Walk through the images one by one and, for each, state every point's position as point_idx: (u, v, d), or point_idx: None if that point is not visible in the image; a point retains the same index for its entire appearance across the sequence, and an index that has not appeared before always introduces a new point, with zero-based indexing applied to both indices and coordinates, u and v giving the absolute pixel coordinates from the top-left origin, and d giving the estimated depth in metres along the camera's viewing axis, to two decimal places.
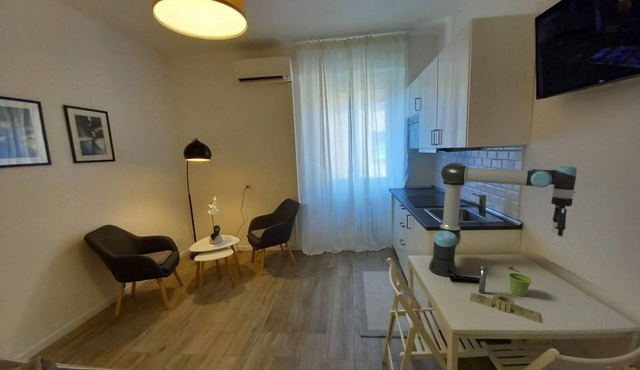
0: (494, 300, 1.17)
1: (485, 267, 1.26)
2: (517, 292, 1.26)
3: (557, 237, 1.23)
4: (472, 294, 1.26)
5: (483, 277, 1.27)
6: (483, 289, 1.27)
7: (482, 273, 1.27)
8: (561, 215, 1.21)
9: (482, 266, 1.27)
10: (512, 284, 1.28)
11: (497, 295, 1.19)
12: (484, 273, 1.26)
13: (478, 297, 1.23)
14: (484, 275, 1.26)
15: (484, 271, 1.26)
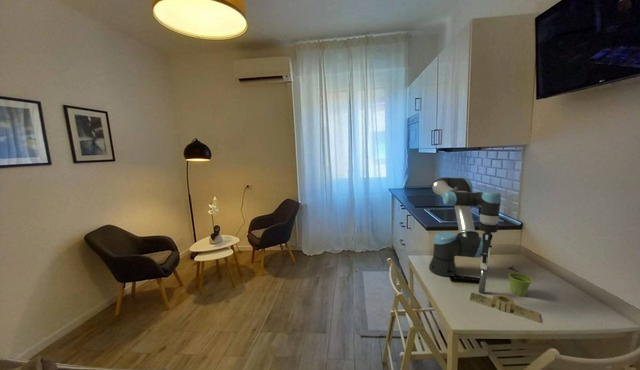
0: (494, 300, 1.17)
1: None
2: (517, 292, 1.26)
3: (482, 264, 1.21)
4: (472, 294, 1.26)
5: (483, 277, 1.27)
6: (483, 289, 1.27)
7: (482, 273, 1.27)
8: (485, 242, 1.19)
9: None
10: (512, 284, 1.28)
11: (497, 295, 1.19)
12: (484, 273, 1.26)
13: (478, 297, 1.23)
14: (484, 275, 1.26)
15: (484, 271, 1.26)
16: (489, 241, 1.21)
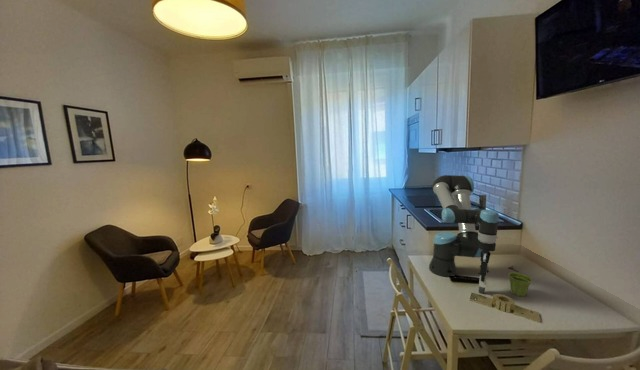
0: (494, 300, 1.17)
1: None
2: (517, 292, 1.26)
3: (480, 282, 1.27)
4: (472, 294, 1.26)
5: None
6: (483, 289, 1.27)
7: None
8: (483, 264, 1.22)
9: None
10: (512, 284, 1.28)
11: (497, 295, 1.19)
12: None
13: (478, 297, 1.23)
14: None
15: None
16: (487, 260, 1.24)
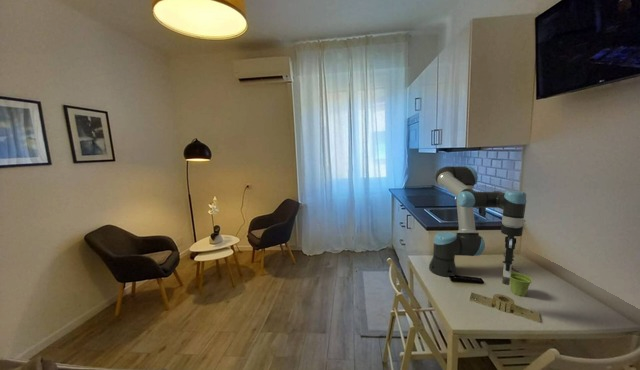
0: (494, 300, 1.17)
1: None
2: (517, 292, 1.26)
3: (505, 271, 1.13)
4: (472, 294, 1.26)
5: None
6: (508, 279, 1.14)
7: None
8: (508, 250, 1.09)
9: None
10: (512, 284, 1.28)
11: (497, 295, 1.19)
12: None
13: (478, 297, 1.23)
14: None
15: None
16: None
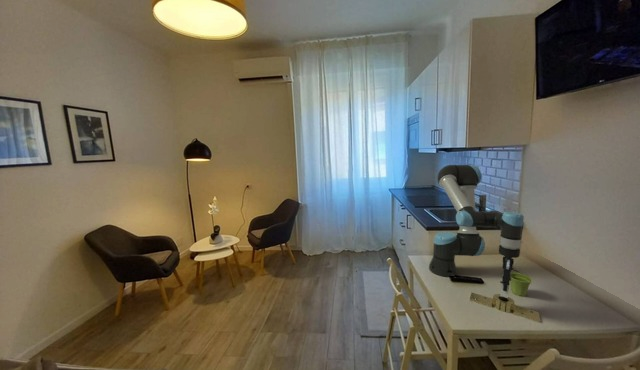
0: (494, 300, 1.17)
1: None
2: (517, 292, 1.26)
3: (502, 291, 1.15)
4: (472, 294, 1.26)
5: None
6: (505, 299, 1.15)
7: None
8: (506, 271, 1.10)
9: None
10: (512, 284, 1.28)
11: (497, 295, 1.19)
12: None
13: (478, 297, 1.23)
14: None
15: None
16: (510, 268, 1.12)
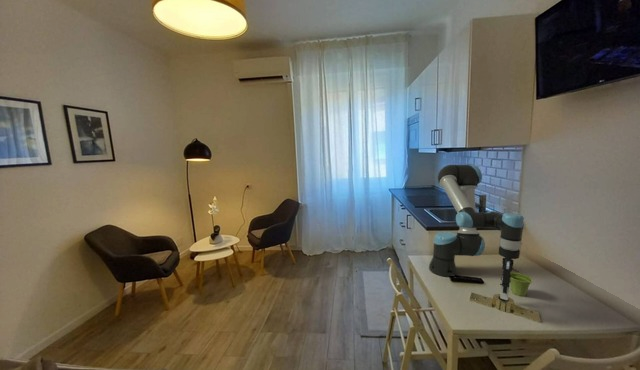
0: (494, 300, 1.17)
1: None
2: (517, 292, 1.26)
3: (502, 294, 1.13)
4: (472, 294, 1.26)
5: None
6: None
7: None
8: (506, 272, 1.09)
9: None
10: (512, 284, 1.28)
11: (497, 295, 1.19)
12: None
13: (478, 297, 1.23)
14: None
15: None
16: (510, 269, 1.11)
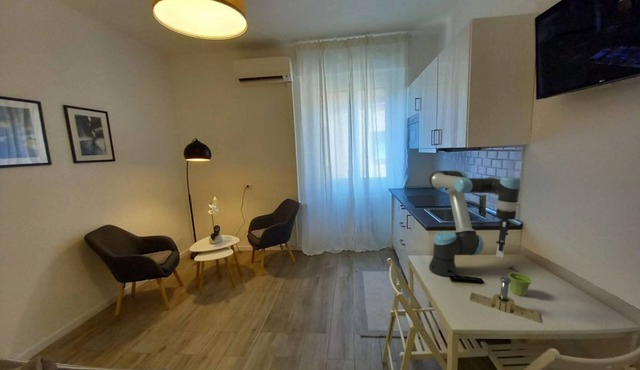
0: (494, 300, 1.17)
1: (507, 279, 1.15)
2: (517, 292, 1.26)
3: (498, 252, 1.16)
4: (472, 294, 1.26)
5: (505, 290, 1.15)
6: None
7: (504, 286, 1.15)
8: (502, 229, 1.14)
9: (503, 278, 1.16)
10: (512, 284, 1.28)
11: (497, 295, 1.19)
12: (506, 286, 1.14)
13: (478, 297, 1.23)
14: (506, 288, 1.15)
15: (506, 284, 1.14)
16: (506, 228, 1.16)
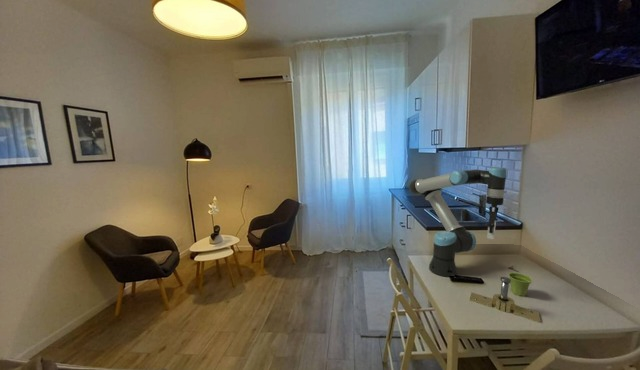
0: (494, 300, 1.17)
1: (507, 279, 1.15)
2: (517, 292, 1.26)
3: (489, 234, 1.31)
4: (472, 294, 1.26)
5: (505, 290, 1.15)
6: None
7: (504, 286, 1.15)
8: (491, 213, 1.29)
9: (503, 278, 1.16)
10: (512, 284, 1.28)
11: (497, 295, 1.19)
12: (506, 286, 1.14)
13: (478, 297, 1.23)
14: (506, 288, 1.15)
15: (506, 284, 1.14)
16: (495, 213, 1.31)
